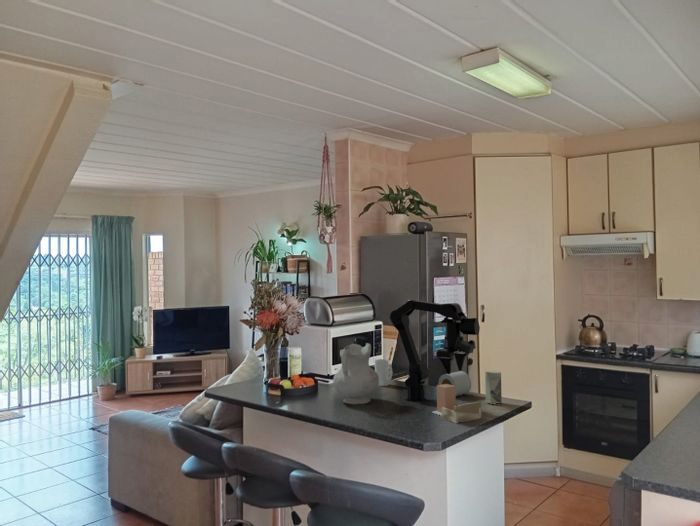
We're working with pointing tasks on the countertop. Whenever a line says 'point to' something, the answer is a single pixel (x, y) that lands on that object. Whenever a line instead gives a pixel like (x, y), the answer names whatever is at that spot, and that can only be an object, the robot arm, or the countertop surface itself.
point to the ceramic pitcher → (356, 375)
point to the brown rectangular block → (445, 397)
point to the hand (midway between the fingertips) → (454, 372)
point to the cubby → (463, 412)
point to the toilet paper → (457, 382)
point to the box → (493, 387)
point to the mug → (383, 371)
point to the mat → (437, 413)
